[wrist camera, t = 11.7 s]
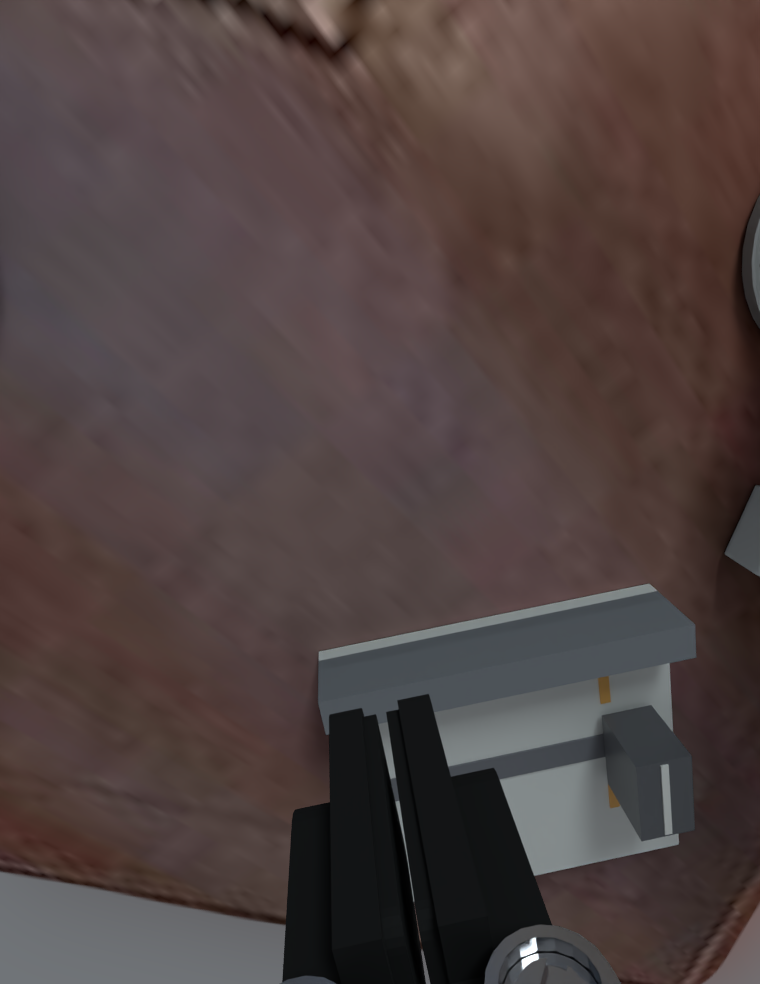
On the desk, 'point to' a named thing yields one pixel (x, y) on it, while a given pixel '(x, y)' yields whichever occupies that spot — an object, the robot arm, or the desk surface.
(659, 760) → the fader knob
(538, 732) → the console
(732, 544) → the usb wall charger
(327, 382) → the desk surface
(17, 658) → the desk surface
